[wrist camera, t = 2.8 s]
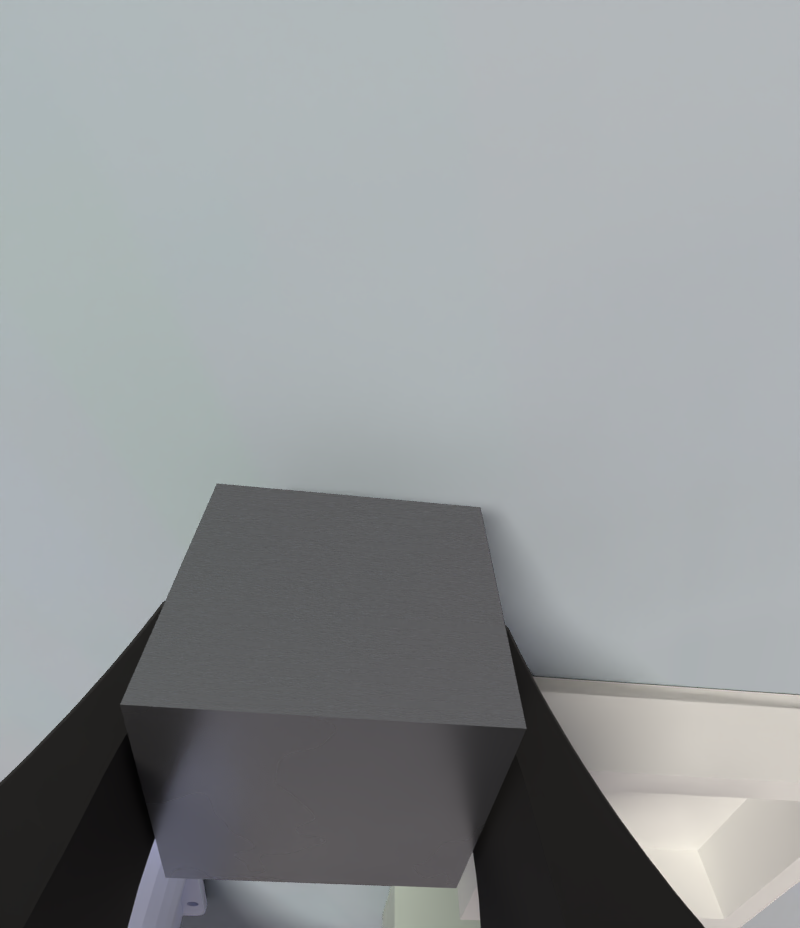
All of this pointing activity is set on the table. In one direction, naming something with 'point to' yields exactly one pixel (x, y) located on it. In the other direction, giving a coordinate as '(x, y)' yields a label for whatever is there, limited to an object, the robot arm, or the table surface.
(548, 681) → the box
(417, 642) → the metal block
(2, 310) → the table surface
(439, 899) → the pale green box
